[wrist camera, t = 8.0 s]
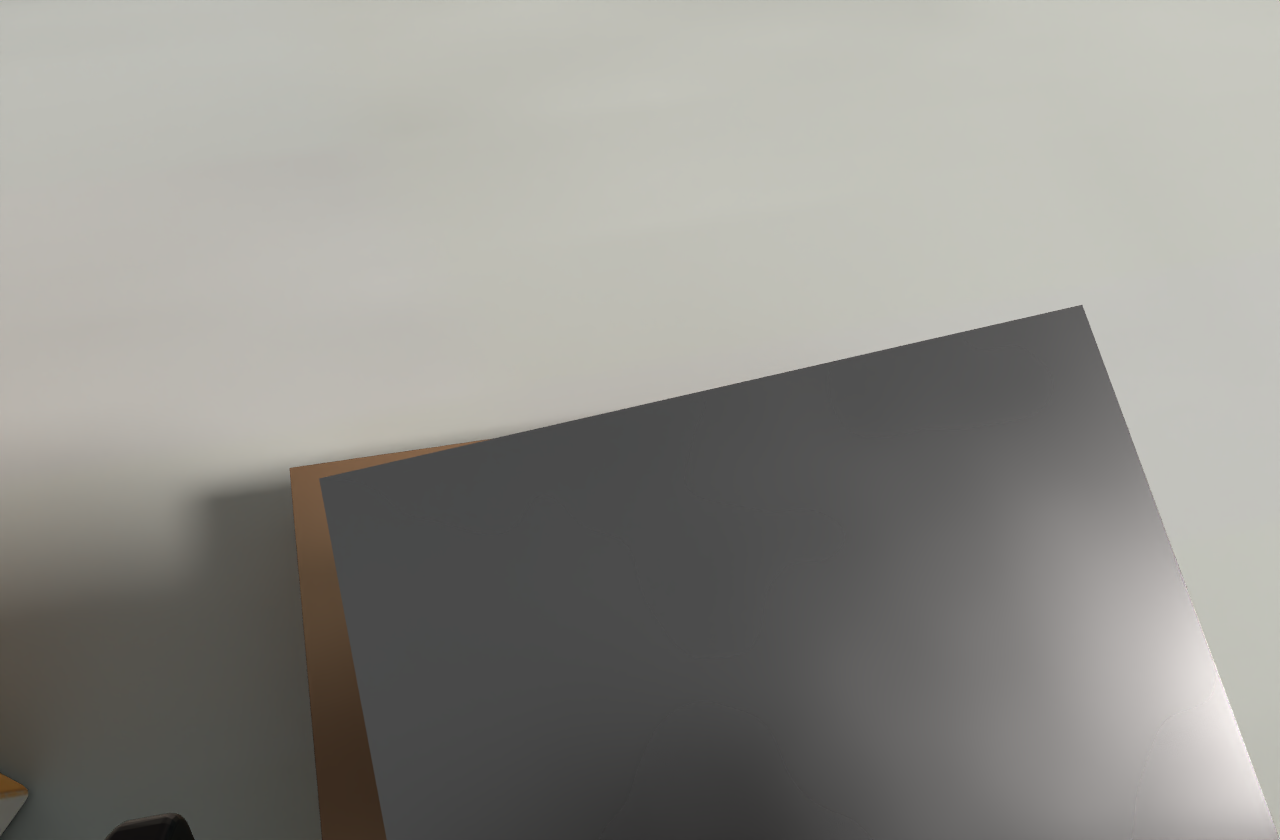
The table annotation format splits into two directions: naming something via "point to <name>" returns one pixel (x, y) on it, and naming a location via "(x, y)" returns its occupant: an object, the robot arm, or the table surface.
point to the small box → (10, 800)
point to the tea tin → (796, 616)
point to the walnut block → (335, 662)
